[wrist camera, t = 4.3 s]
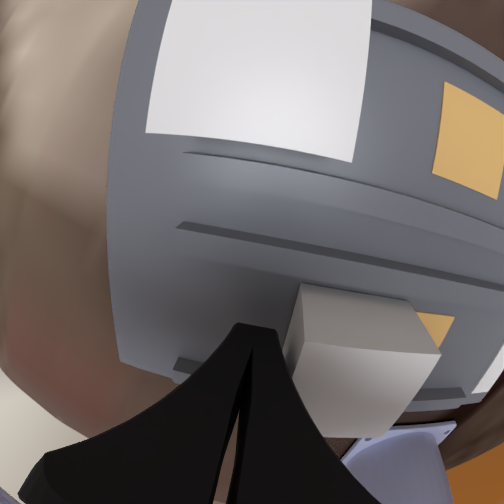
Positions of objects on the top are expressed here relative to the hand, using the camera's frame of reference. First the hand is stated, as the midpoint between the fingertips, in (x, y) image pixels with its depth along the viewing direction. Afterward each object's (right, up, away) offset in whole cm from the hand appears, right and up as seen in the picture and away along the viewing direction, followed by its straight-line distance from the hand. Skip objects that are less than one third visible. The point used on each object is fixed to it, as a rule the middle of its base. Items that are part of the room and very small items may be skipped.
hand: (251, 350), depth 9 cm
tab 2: (+3, 0, +1) cm, 3 cm away
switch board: (+5, +4, +1) cm, 7 cm away
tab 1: (0, +8, -2) cm, 8 cm away
